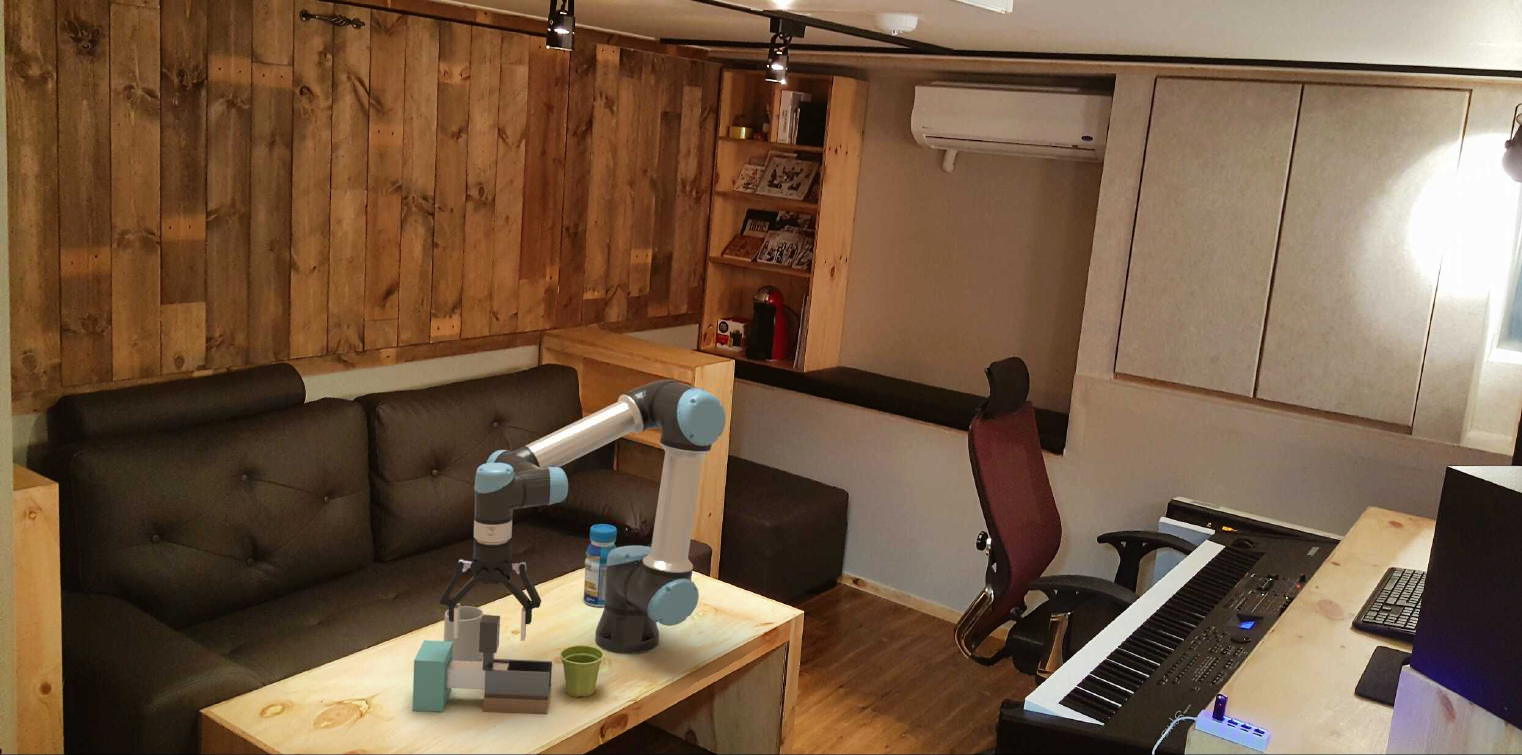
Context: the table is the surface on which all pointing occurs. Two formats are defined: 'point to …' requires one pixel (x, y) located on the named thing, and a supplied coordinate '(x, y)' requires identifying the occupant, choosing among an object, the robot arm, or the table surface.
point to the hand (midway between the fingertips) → (489, 637)
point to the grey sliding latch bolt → (474, 671)
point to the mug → (465, 634)
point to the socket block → (431, 675)
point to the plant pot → (581, 669)
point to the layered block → (518, 687)
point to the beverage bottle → (598, 563)
